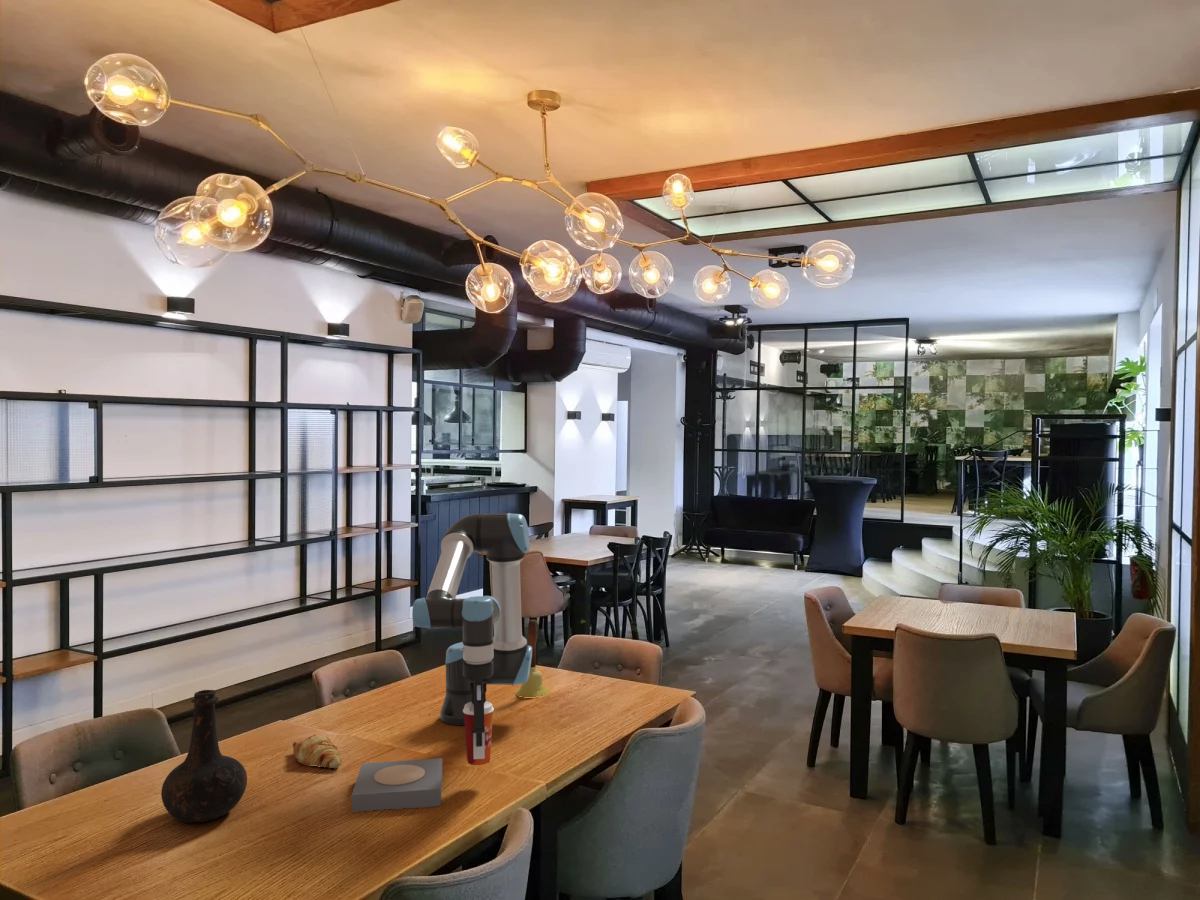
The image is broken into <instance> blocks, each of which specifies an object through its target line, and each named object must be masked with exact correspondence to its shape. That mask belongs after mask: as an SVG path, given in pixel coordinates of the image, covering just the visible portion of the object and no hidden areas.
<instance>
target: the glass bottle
mask: <svg viewBox="0 0 1200 900" xmlns="http://www.w3.org/2000/svg"><path fill="white" fill-rule="evenodd" d="M216 693H217V691H216V690H214V689H203V690H202V689H201V690H198V691H196V692H195V693H194V694H193V698H194V699H192V700H190V702H191V703H193V719H192V720H193V721H192V727H191V728H192V730H191V735H190V736H191V737H190V742H189V747H188V750H187V751H188V752H187V756H186V757H185V759H184V760H183V762H182V763H180V764H178V765H177V766H175V767H174V768H173V769H172V770H171V771H170V772H169V773H168V775H167V776H166V778H165V779H164V781H163V784H162V786H161V801H162V804H163V806H164V808H165V810H166V812H168V814H169V815H171V816H172V817H173V818H174V819H176V820H178V821H180V822H184V823H188V822H199V823H205V822H208V821H209V820H210V821H212V820H216V819H218V817H219V818H221V817H223V816H225V815H226V814H228V813H229V812H231V811H232V810H233V809H234V808H235V807H236V806H237V805H238V803H239V802H240V800H241V799H242V797H243V796H244V794H245V791H246V789H247V785H248V774H247V771H246V769H245V767H244V765H243V763H241V762H240V761H239V760H237V759H235V758H234V757H231V756H227V755H223V754H222V753H221V751H220V746H219V740H218V732H217V717H216V706H215V705H216V703H217V702H218V701H219V699H220V698H219V697H218V696H216ZM220 816H221V817H220ZM204 821H205V822H204ZM210 821H209V822H210Z"/></svg>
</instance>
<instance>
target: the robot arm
mask: <svg viewBox="0 0 1200 900" xmlns="http://www.w3.org/2000/svg"><path fill="white" fill-rule="evenodd" d="M530 545H531V544H530V531H529V527H528V522H527V520H526V517H525V516H524V515H523V514H520V513H511V512H503V513H502V512H500V513H498V512H497V513H472V514H468V515H465V516H463V517H462V518H459V519H458V520H457V521H455V522H454V523H453V524H452V525H451V526H450V527H449V528H448V529H447V530H446V532H445V533H444V535H443V537H442V540H441V543H440V550H441V553H440V555H439V558H438V559H439V560H438V561H437V564H436V568H435V569H434V573H433V577H432V579H431V583H430V585H429V588H428V590H427V594H426V596H425V597H422V598H417V599H415V600H414V601H413V605H412V611H411V614H412V615H411V617H412V618H411V619H412V623H413V625H414V626H415V627H417V628H424V629H425V628H426V629H443V628H444V629H450V628H451V629H453V628H454V629H462V641H461V642H458V643H454V644H452V645H450V646H449V647H448V648H447V649H446V651H445V662H444V664H445V696H444V700H443V702H442V706H441V709H440V713H439V714H440V715H439V717H440V721H441V723H444V724H447V725H452V726H465V719H464V713H463V709H464V706H465V704H467V703H469V702H472V704H474V730H473V731H471V733H473V755H474V759H485V728H484V703H485V702H486V701H487V698H486V697H487V695H486V693H487V690H488V689H487V685H488V686H491V685H492V686H493V685H494V686H495V685H496V686H497V685H498V686H499V685H501V686H507V685H508V686H511V685H512V686H515V685H522V684H525V683H526V682H527V681H528V678H529V672H530V666H531V659H532V647H531V646H529V644H528V639H527V638H525V636H523V627H522V626H523V624H522V622H523V621H522V592H521V590H522V589H521V586H522V585H521V562H522V561H523V560H524V559H525V557H526V555H525V554H526V553H528V552H529V551H530ZM473 553H486V554H485V555H486V560H487V561H488V562H490V564H491V581H492V585H491V586H492V596H490V595H482V596H481V595H480V596H479V595H478V596H470V597H467V598H457V593H458V591H459V587H460V584H461V582H462V581H461V580H462V577H463V573H464V570H465V567H466V565H467V564H466V563H467V560H468V559H469V558H470V557H471V555H473ZM487 702H488V701H487Z"/></svg>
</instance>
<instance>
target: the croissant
mask: <svg viewBox="0 0 1200 900" xmlns="http://www.w3.org/2000/svg"><path fill="white" fill-rule="evenodd" d="M292 748H293V750H292V751H293V752H292V753H293V755H294V758H295V759H297V760H298V761H300V762H299V763H300V764H302V765H304V764H305V765H317V766H320V767H324V768H325V767H327V768H328V769H330V768H334V769H337V768H339V767H340V766H341V765H342V763H341V762H342V758H341V753H340V750H339V749H338V747H337V746H336V745H335V744H333V742H332V740H331V739H330V738H328V737H327V736H324V735H320V734H319V735H318V734H313V735H311V736H309V737H308V738H305V739H302V740H299V741H294V742H293V743H292ZM297 760H296V761H297ZM298 761H297V762H298ZM305 765H304V766H305Z"/></svg>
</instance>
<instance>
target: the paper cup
mask: <svg viewBox="0 0 1200 900" xmlns="http://www.w3.org/2000/svg"><path fill="white" fill-rule="evenodd" d="M494 710H495V708H494V707H493V704H492V702H490V701H486V702H485V703H484V728H485V759H474V755H473V733H471V731H473V730H474V704H472V702H469V703H467V704H465V706H464V709H463V713H464V719H465V725H464V731H465V732H464V733H465V748H466V749H465V750H466V761H467V763H468V764H469V765H471V766H482V765H483V766H484V765H487V764H488V763H489V762H490V760H491V752H492V751H491V750H492V734H493V733H492V730H493V712H494Z"/></svg>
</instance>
